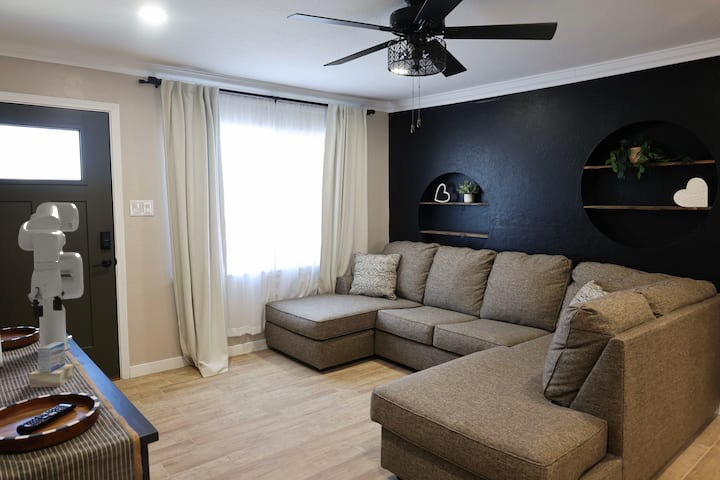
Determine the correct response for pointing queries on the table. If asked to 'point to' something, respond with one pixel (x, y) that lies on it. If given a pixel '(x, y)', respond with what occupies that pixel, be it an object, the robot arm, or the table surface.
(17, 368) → the table surface
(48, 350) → the medicine box
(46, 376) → the wooden block
